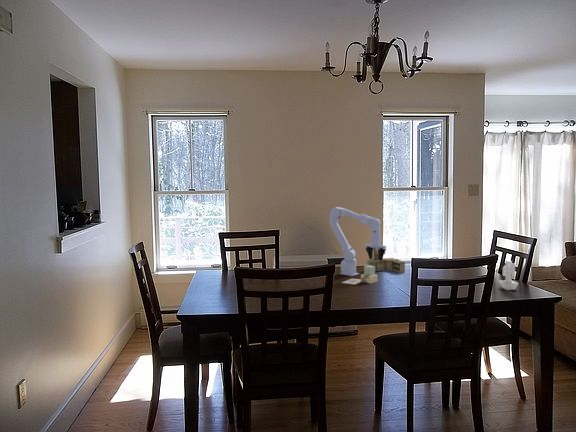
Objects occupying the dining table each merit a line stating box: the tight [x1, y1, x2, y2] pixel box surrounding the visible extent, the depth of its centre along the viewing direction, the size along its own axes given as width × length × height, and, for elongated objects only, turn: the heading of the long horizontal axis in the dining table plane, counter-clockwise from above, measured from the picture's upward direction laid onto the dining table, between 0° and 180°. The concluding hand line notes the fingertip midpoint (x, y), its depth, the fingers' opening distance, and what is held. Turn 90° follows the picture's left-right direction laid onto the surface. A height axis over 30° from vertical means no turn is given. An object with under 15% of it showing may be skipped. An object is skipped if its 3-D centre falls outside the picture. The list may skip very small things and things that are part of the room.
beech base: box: [360, 273, 379, 284], centre depth 265 cm, size 7×7×4 cm
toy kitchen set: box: [366, 248, 406, 274], centre depth 291 cm, size 18×17×15 cm
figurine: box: [498, 260, 519, 291], centre depth 239 cm, size 7×9×15 cm
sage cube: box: [363, 264, 376, 276], centre depth 265 cm, size 4×4×5 cm
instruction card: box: [341, 278, 362, 285], centre depth 267 cm, size 9×12×1 cm
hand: (375, 259), depth 281 cm, fingers open, 7 cm apart
